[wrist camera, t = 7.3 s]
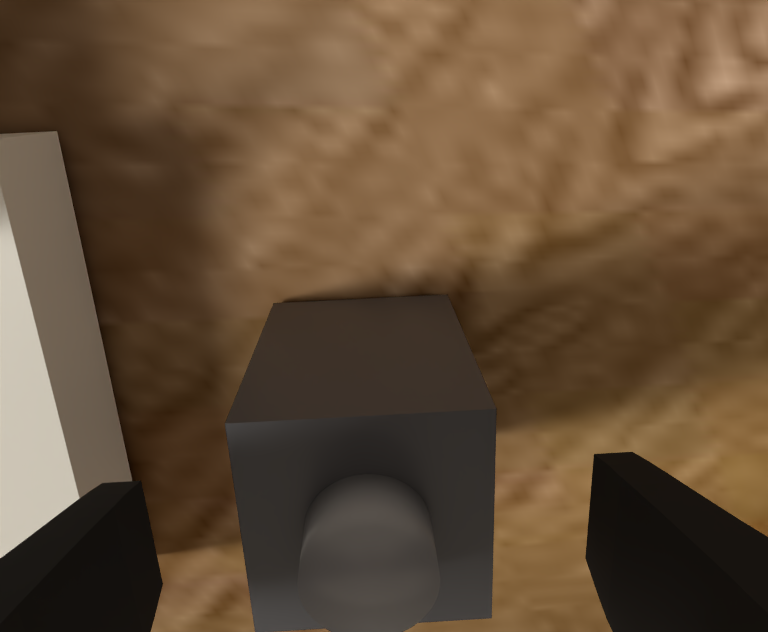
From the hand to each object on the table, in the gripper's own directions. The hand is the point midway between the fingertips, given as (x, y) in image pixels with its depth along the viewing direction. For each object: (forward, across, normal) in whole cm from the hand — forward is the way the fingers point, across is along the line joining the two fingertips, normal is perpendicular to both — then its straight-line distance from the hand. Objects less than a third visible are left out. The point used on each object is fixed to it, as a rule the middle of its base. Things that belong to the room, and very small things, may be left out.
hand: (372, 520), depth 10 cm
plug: (+5, 0, 0) cm, 5 cm away
